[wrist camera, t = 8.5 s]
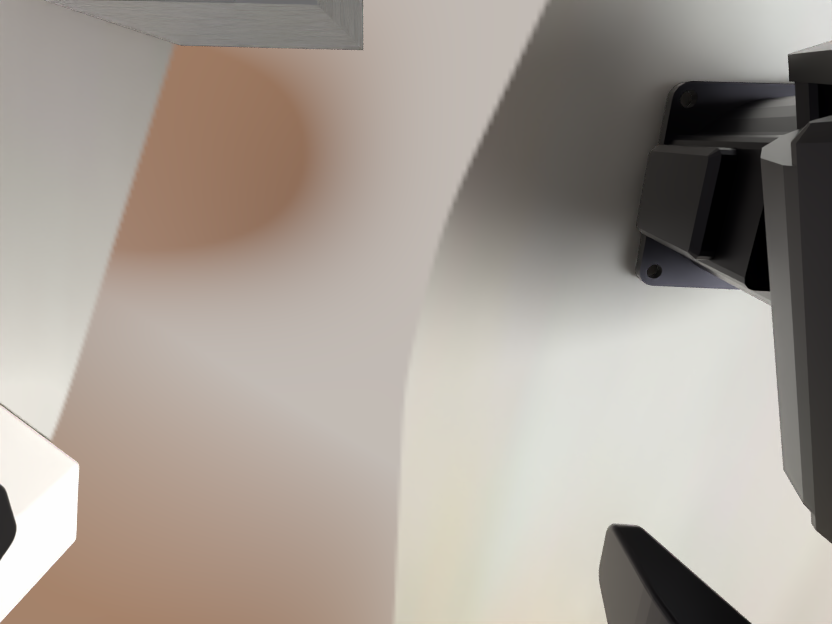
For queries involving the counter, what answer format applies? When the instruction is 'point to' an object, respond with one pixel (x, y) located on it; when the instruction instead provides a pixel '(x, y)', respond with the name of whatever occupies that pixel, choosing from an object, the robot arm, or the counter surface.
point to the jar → (34, 506)
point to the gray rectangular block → (236, 21)
